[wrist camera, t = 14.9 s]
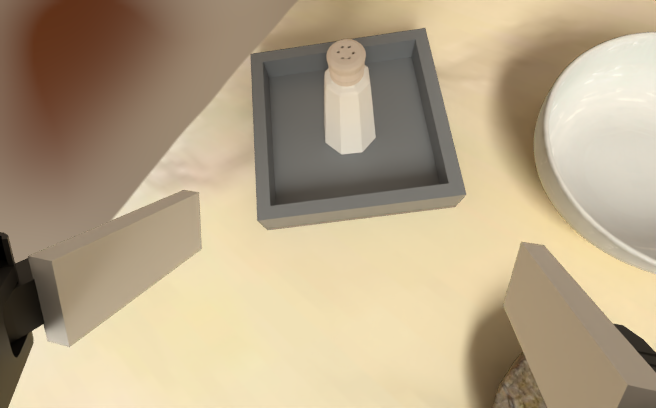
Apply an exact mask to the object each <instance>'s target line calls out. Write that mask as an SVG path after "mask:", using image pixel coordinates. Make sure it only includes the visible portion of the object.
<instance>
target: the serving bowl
mask: <svg viewBox="0 0 656 408" xmlns="http://www.w3.org/2000/svg"><path fill="white" fill-rule="evenodd" d="M534 157H535V164H536V168H537V172H538V175H539V178H540V181H541V183H542V186H543V188H544V190H545V192H546V194H547V196H548V198H549V200H550V201H551V203H552V204H553V206H554V207H555V209H556V210H557V211H558V213H559V214H560V215H561V216H562V217H563V219H564V220H565V221H566V222H567V223H568V224H569V225H570V226H571V227H572V228H573V229H574V230H575V231H576V232H577V233H578V234H580V235H581V236H582V237H583V238H584V239H586V240H587V241H588V242H590V243H591V244H593V245H594V246H596V247H597V248H598V249H600V250H602V251H603V252H605V253H607V254H608V255H610V256H612V257H614V258H616V259H618V260H620V261H622V262H624V263H626V264H629V265H631V266H634V267H636V268H639V269H641V270H644V271H647V272H650V273H654V274H656V32H644V33H636V34H630V35H625V36H621V37H617V38H614V39H611V40H608V41H606V42H603V43H601V44H599V45H597V46H594V47H593V48H591V49H589V50H587V51H586V52H584V53H583V54H581V55H580V56H579V57H577V58H576V59H575V60H574V61H572V62H571V63H570V64H569V65H568V66H567V67H566V68H565V69H564V71H563V72H562V73H561V74H560V75H559V77H558V78H557V80H556V81H555V83H554V84H553V86H552V88H551V89H550V91H549V93H548V94H547V96H546V98H545V100H544V102H543V104H542V107H541V109H540V112H539V115H538V119H537V122H536V126H535V133H534Z"/></svg>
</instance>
